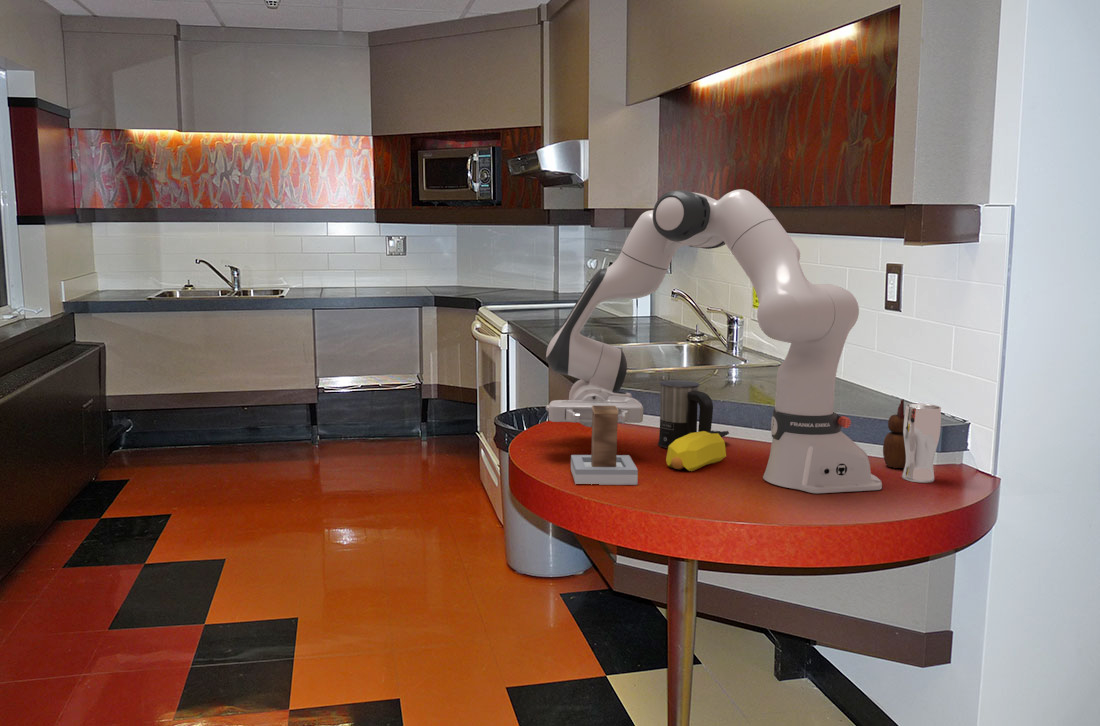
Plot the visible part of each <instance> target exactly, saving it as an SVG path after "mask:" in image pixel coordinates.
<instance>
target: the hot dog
mask: <svg viewBox="0 0 1100 726" xmlns="http://www.w3.org/2000/svg"><path fill="white" fill-rule="evenodd" d="M726 457H727V449H726V441H725V440H724V438H723V437H721V436H720V435H719V434H718V433H713V434H711V433H708V432H706V431H701V432H698V431H697V432H694V433H690V434H687V435H685V436H683V437H681V438H678V439H676V440H675V441H674V442H672V443H671V444H670V445H669V446H668V448H667V453H666V458H665V461H666V464H667V466H668V467H669V468H673V469H676V470H682V469H684V468H685V469H686V470H687V471H689V472H690V471H691V472H693V471H696V470H698V469H700V468H702V467H705V466H706V465H707V466H708V465H710V464H715V463H718V462H719V463H720V462H722V461H723V459H724V458H726Z"/></svg>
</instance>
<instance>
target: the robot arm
mask: <svg viewBox="0 0 1100 726" xmlns="http://www.w3.org/2000/svg"><path fill="white" fill-rule="evenodd" d="M725 245H726V246H727V248H728V249H729V251H730V253H731V254H732V255H733V256H734V258H735V260H736V261H737V262H738V264H739V265H740V267H741V268H742V270H743V272H744V273H745V274H746V276H747V277H748V279H749V281H750V282H751V283H752V286H753V288H754V291H755V294H756V297H757V300H758V306H757V309H756V310H757V312H756V318H757V322H758V325H759V328H760V330H761V331H762V332H763V334H764V335H766V337H768V338H770V339H772V340H775V341H779V342H782V343H788V344H789V343H790V346H789V347H788V351H787V354H786V356H785V358H784V360H783V362H781V364H780V365H779V367H778V369H777V372H776V384H775V385H776V387H775V405H774V406H775V407H774V408H773V409H772V417H771V426H770V432H771V437H772V438H771V439H772V440H771V446H770V451H769V455H768V457H769V458H768V461H767V465H766V468H765V471H764V473H763V475H762V479H763V480H764V481H766V482H767V483H770V484H772V485H775V486H779V487H781V488H782V487H783V488H789V489H793V490H799V491H803V492H807V493H809V494H810V493H811V494H827V493H828V494H829V493H844V492H845V493H847V492H849V493H851V492H863V491H864V492H866V491H880V490H882V489H883V483H882V480H881V479H880V478H878V476H876V475H874V474H872V473H871V472H872V471H871V463H870V459H869V457H868V454H867V453H866V452H865V450H864V449H863V448H861V447H860V446H859V445H858V444H856V442H854V441H853V439H851V438H850V437H849V436H847V435H846V434H845V433H844V432H842V428H844V429H848V428H849V427H851V424H852V420H851V419H850V417H847V416H844V415H842V416H841V415H840V414H837V413H836V412H834V405H835V404H834V403H835V401H834V400H835V392H836V391H835V388H836V377H837V373H838V367H839V363H840V359H841V357H842V353H843V351H844V346H845V345H846V341H847V338H848V336H849V334H850V332H851V330H852V329H853V328H854V326H855V325H856V323H857V321H858V319H859V314H860V307H859V304H858V301H857V298H856V297H855V295H854V294H853V293H852V292H851V291H849V290H848V289H847V288H846V289H845V288H843V287H841V286H838V285H836V284H835V285H834V284H831V283H822V284H821V283H818V284H815V283H814V284H813V283H811V282H810V281H809V280H808V279H807V277H806V276H805V274H804V272H803V269H802V266H801V265H800V259H801V251H800V249H799V247H798V246H797V244H796V243H795V242H794V240H793V239H792V237H791V236H790V235H789V234H788V232H787V231H786V229H785V228H784V227H783V226H782V224H781V223H780V222H779V220H778V218H776V216H775V215H774V214H773V212H771V210H770V209H769V208H768V207H767V206H766V205H765V204H764V203H763V201H761V199H759V198H758V197H757V196H756V195H754V194H753V193H752V192H751V191H749V190H746V189H742V188H741V189H734V190H732V191H730V192H728V193H726V194H723V196H722V197H720V198H719V199H715V198H712V197H710V196H708V195H706V194H703V193H700V192H692V191H689V190H684V189H677V190H671V191H668V192H666V193H664V194H663V195H661V196H660V197H659V198H658V200H656V202H655V204H654V207H653V209H651V210H647V211H645V212H643V213H641V215H639V217H638V219H637V220H636V222H635V223H634V225H633V227H632V228H631V230H630V232H629V234H628V235H627V237H626V239H625V242H624V243H623V247H622V249H621V251H620V253H619V255H618V257H617V258H616V259H615V261H614V262H613V263H611V264H610V265H609V266H608V267H605V268H600V269H598V271H596V273H594V275H593V276H592V278H591V279H590V281H589V282H588V284H587V285H586V287H585V288H584V290H583V291H582V293H581V294H580V296H579V297H578V299H577V301H576V303H575V304H574V305H573V308H572V309H571V311H570V313H569V314H568V315H567V318H566V319H565V320H564V321H563V324H562V325H561V326H560V328H559V330H558V331H557V332H556V333H555V334H554V336H553V337H552V338H551V340H550V342H549V343H548V346H547V348H546V355H545V360H546V362H547V364H548V366H549V368H550V369H551V371H553V372H554V373H556V374H560V375H565V376H571V377H573V378H576V379H578V380H576V381H575V382H574V383H573V385H572V386H571V388H570V390H569V393H568V395H569V396H568V399H557V400H556V399H553V400H551V401H550V403H549V404H547V405H545V410H546V411H547V412H548V421H550V422H552V423H579V424H581V425H583V426H584V427H587V428H592V406H616V408H617V409H618V421H617V424H625V423H630V424H631V423H633V424H640V423H642V422H643V420H644V407H643V405H642V403H641V402H640V401H639V400H638V399H636V398H634V397H632V393H631V392H626V391H620V390H621V389H622V386H623V384H624V381H625V379H626V375H627V371H628V361H627V359H626V358H627V357H626V356H625V353H624V351H623V350H622V349H621V348H619V347H616V346H613V345H611V344H608V343H605V342H603V341H602V342H601V341H598V340H595V339H593V338H590V337H588V336H584V335H582V334H581V332H582V330H583V328H584V326H585V325H586V323H587V321H588V320H589V319H590V316H591V315H592V313H593V311H594V310H595V309H596V307H597V306H598V305H600V304H601V303H603V302H605V301H609V300H617V299H620V300H623V299H625V300H626V299H627V300H628V299H629V300H631V299H632V300H634V299H640V298H644V297H647V296H650V295H651V294H653V293H654V292H656V291H657V290H658V289H659V288H660V286H661V284H662V283H663V281H664V279H665V277H666V274H667V272H668V270H669V268H670V265H671V262H672V259H673V257H674V256H675V254H676V252H677V251H678V249H680V248H682V247H683V246H688V247H690V248H698V249H699V248H700V249H705V250H706V249H710V250H711V249H717V248H721V247H723V246H725Z"/></svg>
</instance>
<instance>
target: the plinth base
mask: <svg viewBox="0 0 1100 726" xmlns="http://www.w3.org/2000/svg"><path fill="white" fill-rule="evenodd" d="M570 471H571V474H572V477H573V481H574V485H576V484H591V485H592V484H599V486H600V485H601V486H604V485H605V486H611V485H612V486H614V485H615V486H626V485H627V486H628V485H629V486H638V479H639V478H638V477H639V476H638V475H639V474H638V473H639V472H638V471H639V470H638V468H637V465H636V464H635V462H634V461H633V459H632V457H631V456H630V455H629V454H622V455H621V454H617V456H616V467H592V465H591V454H571V455H570ZM592 486H593V485H592Z"/></svg>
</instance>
